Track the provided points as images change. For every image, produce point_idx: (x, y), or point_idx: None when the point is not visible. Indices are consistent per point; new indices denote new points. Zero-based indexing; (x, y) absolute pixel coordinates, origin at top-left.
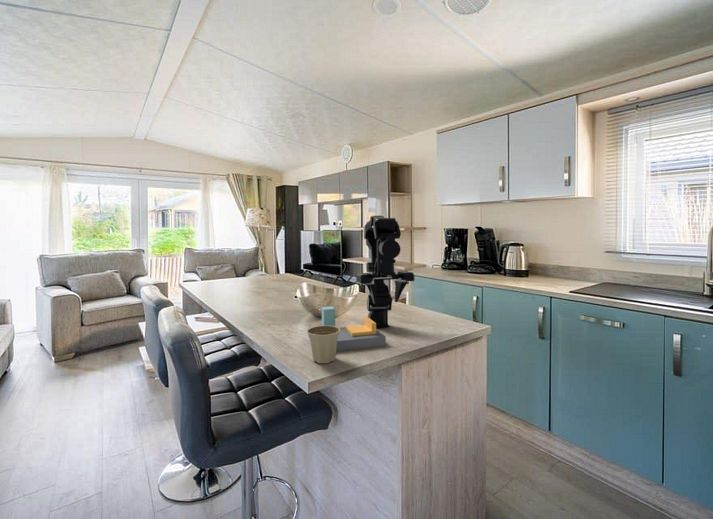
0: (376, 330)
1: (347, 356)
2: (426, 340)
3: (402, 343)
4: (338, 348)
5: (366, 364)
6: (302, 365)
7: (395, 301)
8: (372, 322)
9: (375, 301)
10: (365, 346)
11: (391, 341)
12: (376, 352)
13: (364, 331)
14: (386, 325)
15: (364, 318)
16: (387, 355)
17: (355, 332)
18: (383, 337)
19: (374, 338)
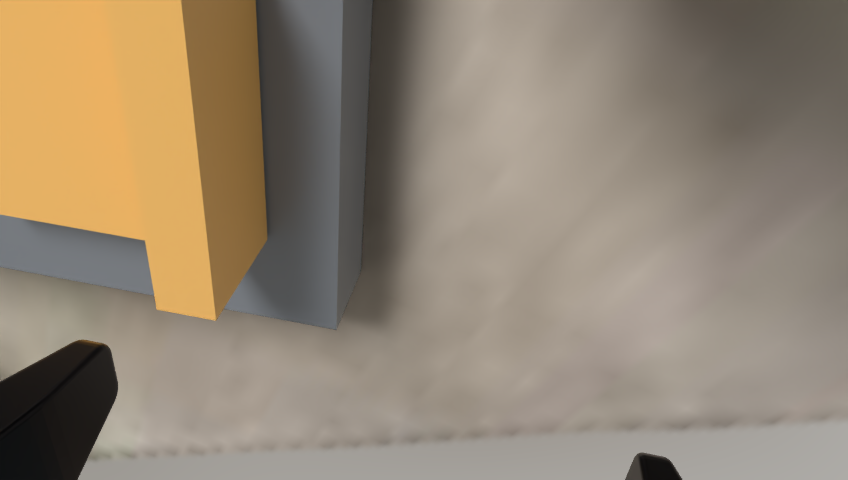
0: (321, 124)
1: (15, 317)
2: (821, 336)
3: (540, 295)
4: None
5: (122, 454)
6: None
7: (631, 476)
8: (178, 276)
9: (80, 449)
10: None
11: (474, 205)
12: (233, 350)
13: (118, 222)
14: None
15: (108, 8)
16: (290, 420)
17: (15, 207)
18: (318, 319)
19: None
